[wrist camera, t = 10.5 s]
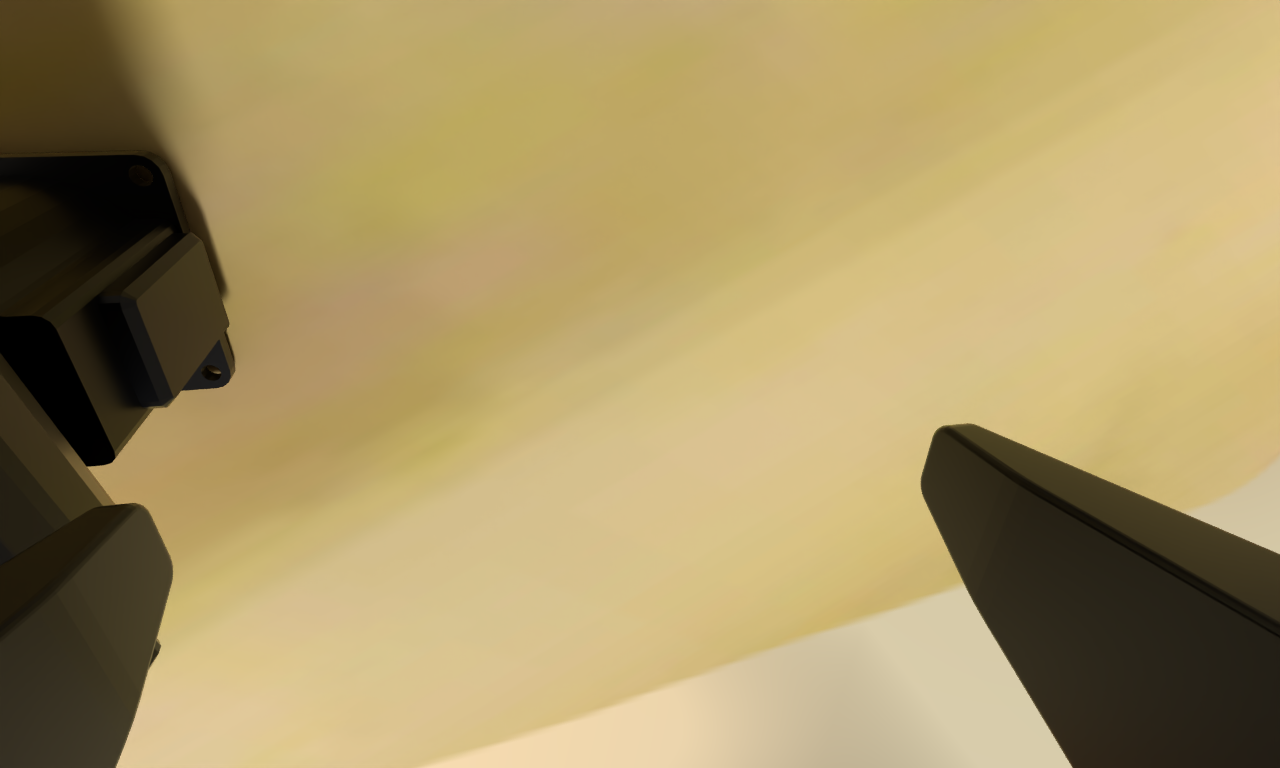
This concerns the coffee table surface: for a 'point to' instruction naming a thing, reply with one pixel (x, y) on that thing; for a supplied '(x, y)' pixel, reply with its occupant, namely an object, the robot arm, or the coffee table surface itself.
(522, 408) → the coffee table surface
